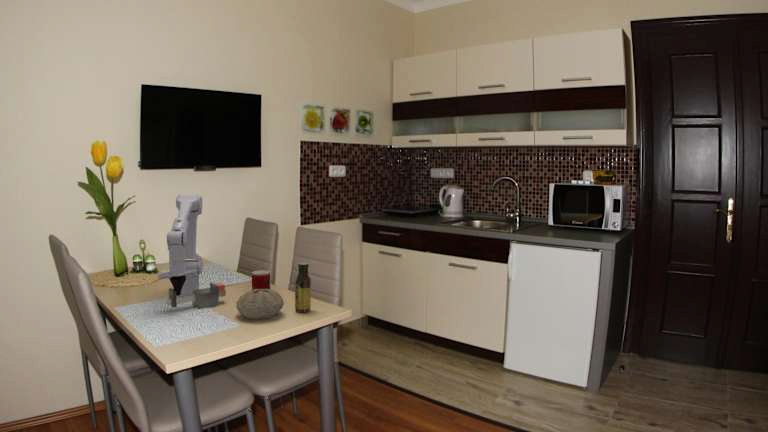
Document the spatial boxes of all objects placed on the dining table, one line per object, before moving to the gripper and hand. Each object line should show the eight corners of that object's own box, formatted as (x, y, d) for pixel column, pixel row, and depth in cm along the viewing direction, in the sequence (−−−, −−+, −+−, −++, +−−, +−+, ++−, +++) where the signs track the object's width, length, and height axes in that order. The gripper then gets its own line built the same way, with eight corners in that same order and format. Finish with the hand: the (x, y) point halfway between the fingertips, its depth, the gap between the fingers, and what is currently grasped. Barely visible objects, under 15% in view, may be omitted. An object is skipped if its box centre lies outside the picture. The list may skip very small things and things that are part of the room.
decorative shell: (227, 315, 187) (227, 290, 185) (265, 305, 200) (265, 282, 199) (254, 326, 175) (254, 300, 174) (293, 315, 189) (293, 290, 188)
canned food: (267, 299, 208) (266, 274, 207) (249, 298, 209) (248, 273, 208) (273, 294, 216) (272, 270, 215) (255, 293, 217) (255, 269, 216)
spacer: (214, 289, 202) (213, 283, 202) (221, 288, 204) (220, 282, 204) (217, 292, 199) (217, 286, 199) (224, 291, 201) (224, 284, 201)
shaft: (165, 305, 190) (165, 289, 190) (222, 295, 205) (222, 280, 205) (169, 308, 187) (169, 291, 186) (227, 298, 202) (226, 283, 201)
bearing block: (192, 304, 199) (192, 285, 198) (212, 301, 204) (211, 282, 203) (199, 308, 193) (198, 288, 192) (218, 305, 199) (218, 285, 198)
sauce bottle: (295, 308, 197) (296, 261, 195) (311, 308, 198) (311, 261, 196) (294, 313, 191) (294, 264, 188) (310, 313, 191) (310, 264, 189)
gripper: (160, 265, 181) (161, 300, 183) (199, 260, 191) (199, 294, 192) (155, 262, 187) (156, 296, 188) (193, 257, 196) (193, 290, 198)
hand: (177, 295), depth 191 cm, fingers closed
